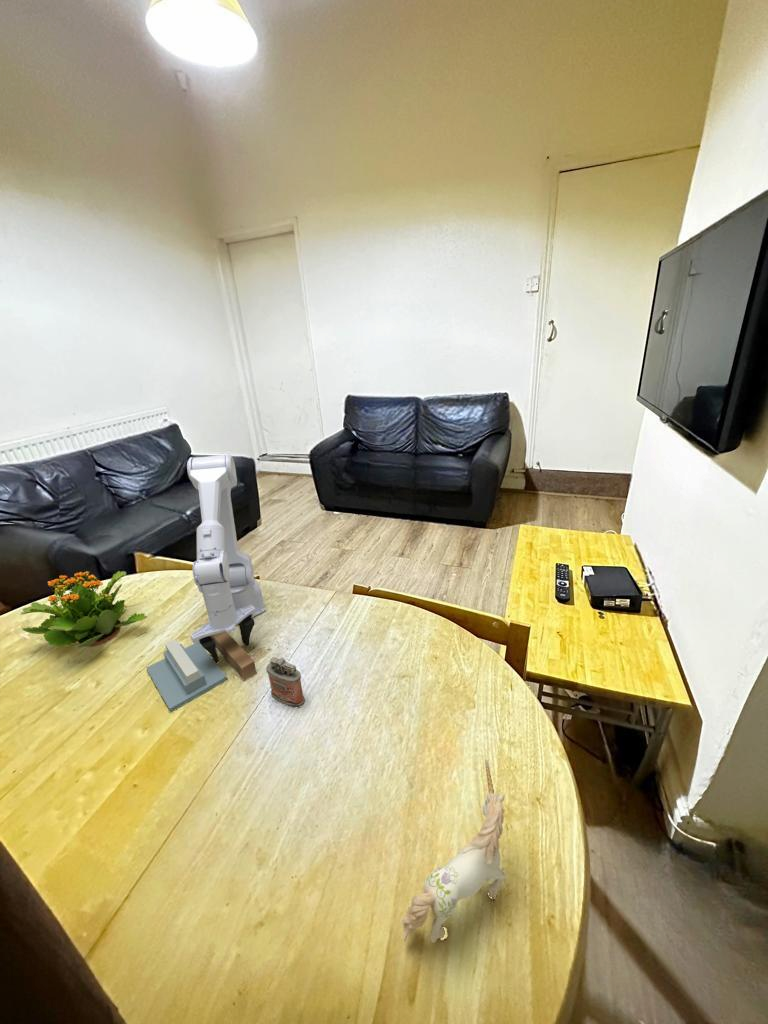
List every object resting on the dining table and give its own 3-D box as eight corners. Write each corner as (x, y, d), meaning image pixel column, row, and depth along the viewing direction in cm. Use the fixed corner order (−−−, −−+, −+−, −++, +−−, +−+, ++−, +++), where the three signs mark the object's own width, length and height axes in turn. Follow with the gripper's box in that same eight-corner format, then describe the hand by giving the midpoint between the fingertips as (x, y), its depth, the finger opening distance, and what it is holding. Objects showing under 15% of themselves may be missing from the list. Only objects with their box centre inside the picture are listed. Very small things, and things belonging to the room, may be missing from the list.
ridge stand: (147, 670, 95) (140, 652, 93) (199, 644, 102) (194, 626, 100) (170, 712, 84) (163, 692, 82) (227, 679, 91) (222, 660, 89)
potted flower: (172, 609, 116) (156, 555, 109) (114, 673, 94) (89, 611, 87) (90, 606, 119) (69, 553, 112) (16, 668, 97) (-16, 607, 90)
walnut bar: (211, 642, 103) (207, 630, 101) (222, 636, 105) (219, 624, 103) (244, 681, 91) (241, 668, 89) (256, 674, 93) (254, 660, 91)
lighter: (267, 697, 87) (260, 660, 83) (278, 685, 89) (271, 649, 85) (298, 711, 83) (291, 673, 79) (308, 698, 86) (302, 662, 82)
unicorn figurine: (524, 851, 60) (534, 792, 54) (445, 999, 47) (448, 941, 41) (480, 815, 64) (486, 758, 59) (398, 941, 51) (395, 882, 46)
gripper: (193, 628, 85) (207, 678, 90) (258, 598, 94) (267, 644, 99) (181, 613, 89) (195, 661, 95) (244, 586, 98) (253, 631, 104)
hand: (231, 652), depth 97 cm, fingers open, 7 cm apart
